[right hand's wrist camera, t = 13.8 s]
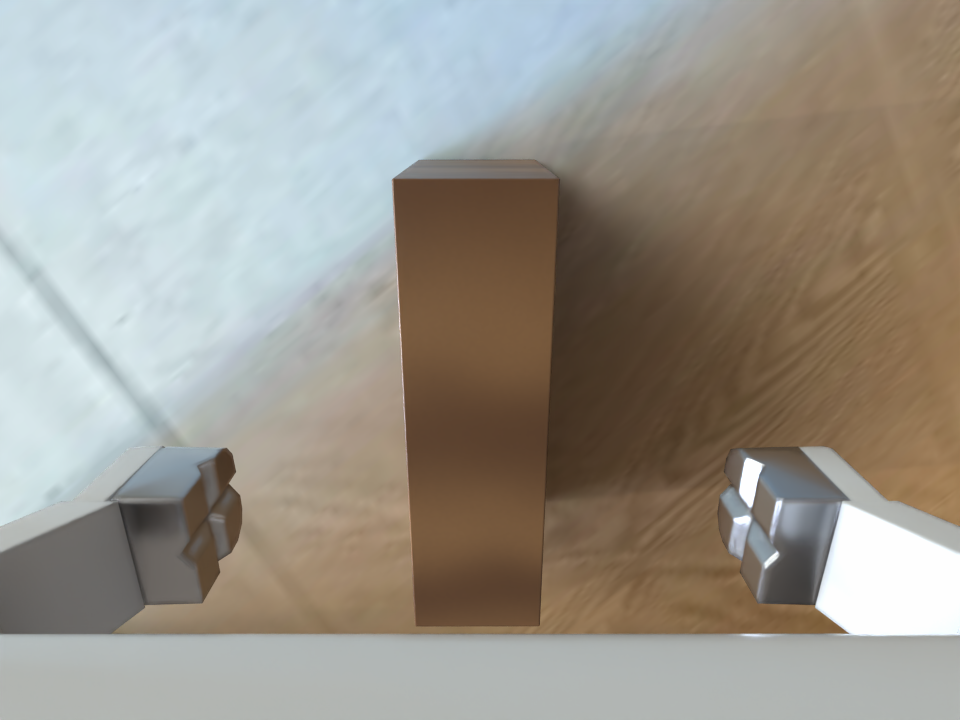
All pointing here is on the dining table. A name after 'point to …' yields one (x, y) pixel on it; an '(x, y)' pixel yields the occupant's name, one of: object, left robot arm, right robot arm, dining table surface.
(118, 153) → the dining table surface
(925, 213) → the dining table surface
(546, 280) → the box
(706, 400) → the dining table surface
